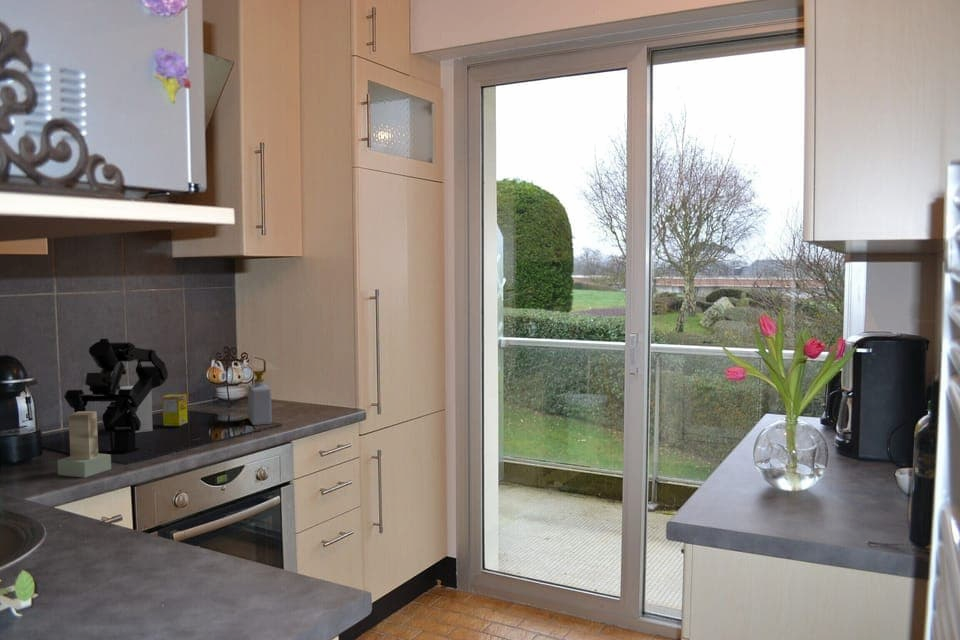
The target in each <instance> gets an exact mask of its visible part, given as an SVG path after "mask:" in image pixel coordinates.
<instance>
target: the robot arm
mask: <svg viewBox="0 0 960 640" xmlns="http://www.w3.org/2000/svg"><path fill="white" fill-rule="evenodd" d="M88 353H89V355H90V356H91V358H92V360H93V362H94V363H95V364H96V366H97V367H98V368H100V372H87V373H86V376H85V378H86V379H85V382H84V385H87V386H88V387H89V388H88V390H89V391H90V392H92V393H85V392H84V391H83V389H68V390H67V389H66V391H65V393H64V396H63V397H64V399H65V400H66V403H67V404H68V405H69V406H70V408H72V409H74V411H73V413H75V412H81V411H87V408H86V407H87V405H88V402H101V403H110V404H108V406H106V409H105V411H104V412H103V414H102V425H103V427H104V431H105V432H104V433H108V432H109V433H110V436H109V441H110V449H107V452H108V453H114V454H115V453H117V454H128V453H130V452H133V451H136V450H140V449H141V448H140V446H137V445H136V442H137V441H136V433H135V431H139V430H140V426H141V421H140V420H139V418H138V417H137V415H136V412H135V411H136V409H137V408H138V407H139V405H140V404H141V403H142V402H143V400H144V399H145V398H146V396H147V395H148V394H149V392H150V391H151V392H152V391H153V389H155V388H158V387H161V386H162V385H164V383H165V382H166V380H168V377H169V372H168V370H167V366H166V364H165V362H164V361H163V360H162V359H161V358H160V357H159V356H158V354H157V353H156V350H154V349H149V348H148V349H147V348H140V347H136V346H135V344H133V343H132V342H129V341H128V342H127V341H126V342H121V341H120V342H110V340H109V338H100V339H99V341H97V342H95V343H93V344H92V345H91V346H89V348H88ZM132 361H135V362H137V365H136V367H135V373H136V375H137V379H138V380H137V381H136V383H134V385H132V386H133V388H132V389H120V387H121V385H120V383H121V379H122V376H123V375H126V374H127V371H126V368H125V364H124V363H123V362H127V363H128V362H129V363H130V362H132ZM143 362H144V363H147V362H148V363H151V364H152V365H142V363H143ZM119 389H120V390H119ZM118 390H119V391H118ZM117 393H118V394H117Z"/></svg>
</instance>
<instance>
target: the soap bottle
mask: <svg viewBox="0 0 960 640" xmlns="http://www.w3.org/2000/svg"><path fill="white" fill-rule="evenodd" d="M254 359H256V360H261V361H263V370H258V371H253V373H254V376H255V377H256V379H253V381H254V384H250V385H248V386H247V403H248V407H247V408H248V410H247V411H248V420H249V421H250V423H251V424H252V426H259V425H260V426H261V425H270V424H272V422H273V421H272V420H273V418H272V390H271V388H270V387H269V386H268V385H267V384H265V379H264V378H262V376H263V375H264V373H266V372H267V371H266V370H267V369H266V368H267V365H266V364H267V363H266V359H263V358H262V357H258V356H254Z"/></svg>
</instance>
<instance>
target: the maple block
mask: <svg viewBox="0 0 960 640" xmlns="http://www.w3.org/2000/svg"><path fill="white" fill-rule="evenodd" d="M97 413H98V412H97V411H95V410H93V411H90V410H89V411H87V410H85V411H81V412H75V413H74V412H73V413H70V414H68V431H69V434H68V435H69V457H70V460H85V459H91V458H93V457H95V456H97V455H98V453H99V435H98V414H97Z"/></svg>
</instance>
